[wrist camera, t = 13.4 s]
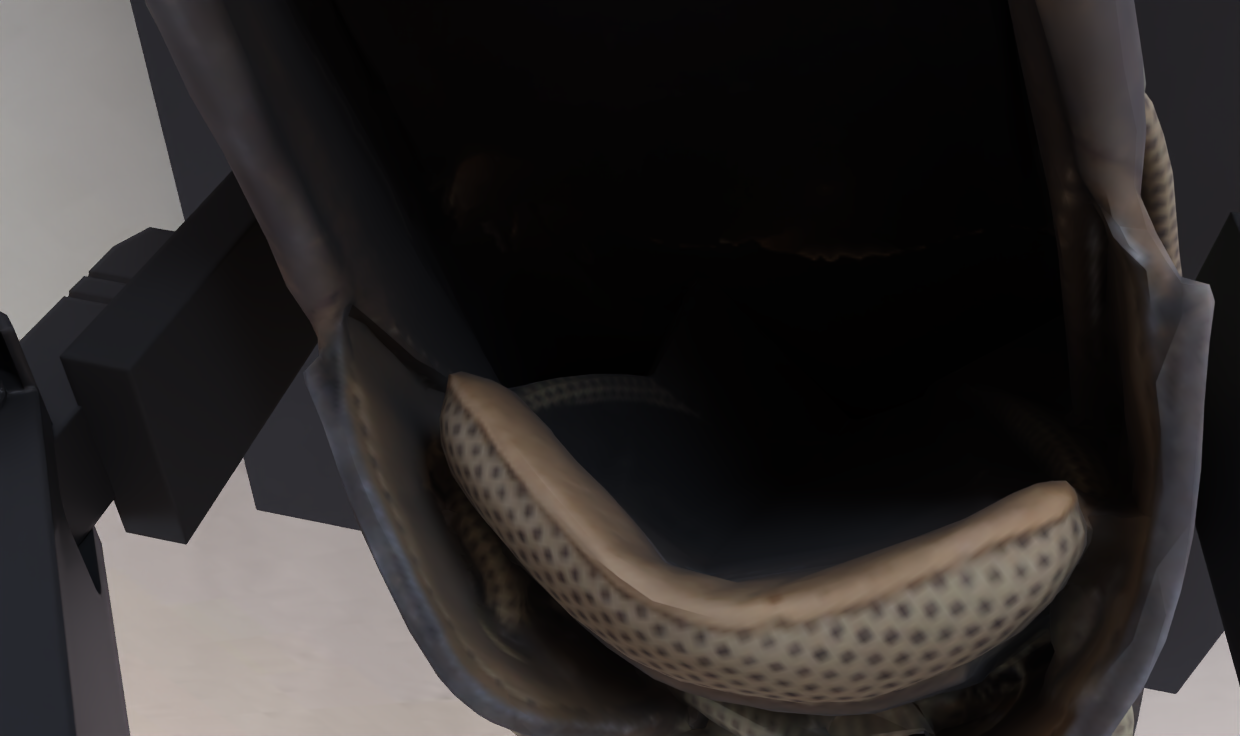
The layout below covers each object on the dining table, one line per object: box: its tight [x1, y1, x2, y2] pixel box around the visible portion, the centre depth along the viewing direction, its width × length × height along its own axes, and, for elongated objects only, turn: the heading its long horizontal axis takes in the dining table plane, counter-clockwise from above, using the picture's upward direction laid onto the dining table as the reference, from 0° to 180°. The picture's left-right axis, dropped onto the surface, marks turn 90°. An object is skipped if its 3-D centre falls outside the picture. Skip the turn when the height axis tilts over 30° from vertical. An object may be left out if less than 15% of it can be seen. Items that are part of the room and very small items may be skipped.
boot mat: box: [130, 0, 1240, 694], centre depth 17 cm, size 22×24×1 cm
